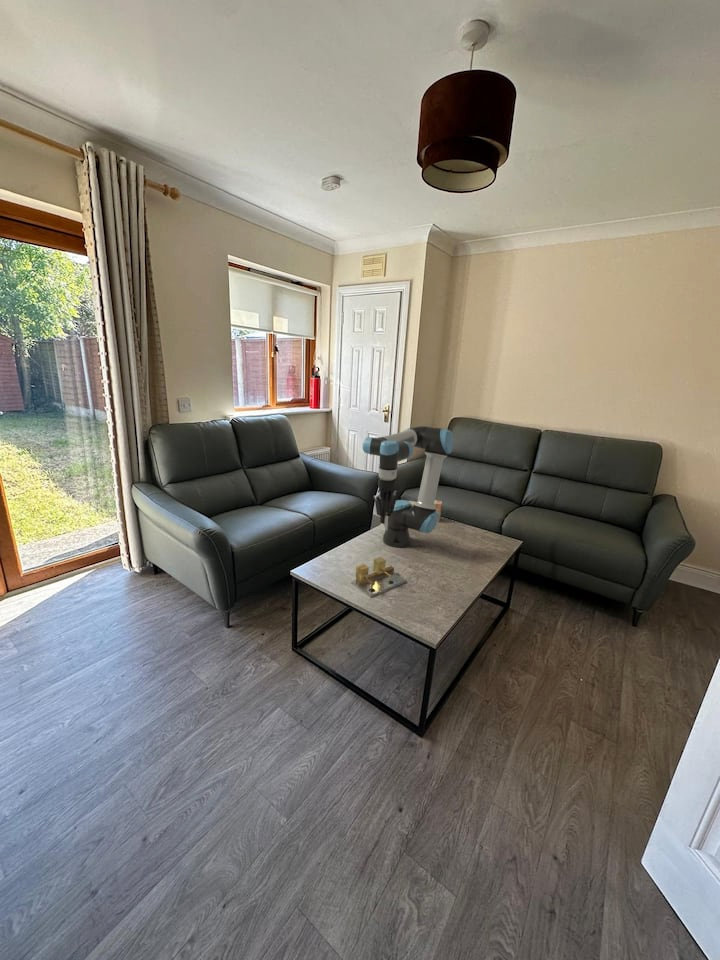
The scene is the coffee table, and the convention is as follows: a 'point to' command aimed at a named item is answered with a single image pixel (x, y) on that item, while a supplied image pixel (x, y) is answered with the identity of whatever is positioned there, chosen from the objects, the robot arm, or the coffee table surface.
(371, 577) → the beam
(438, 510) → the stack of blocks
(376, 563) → the slider leg
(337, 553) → the coffee table surface
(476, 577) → the coffee table surface
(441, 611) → the coffee table surface
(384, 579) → the hole plate
